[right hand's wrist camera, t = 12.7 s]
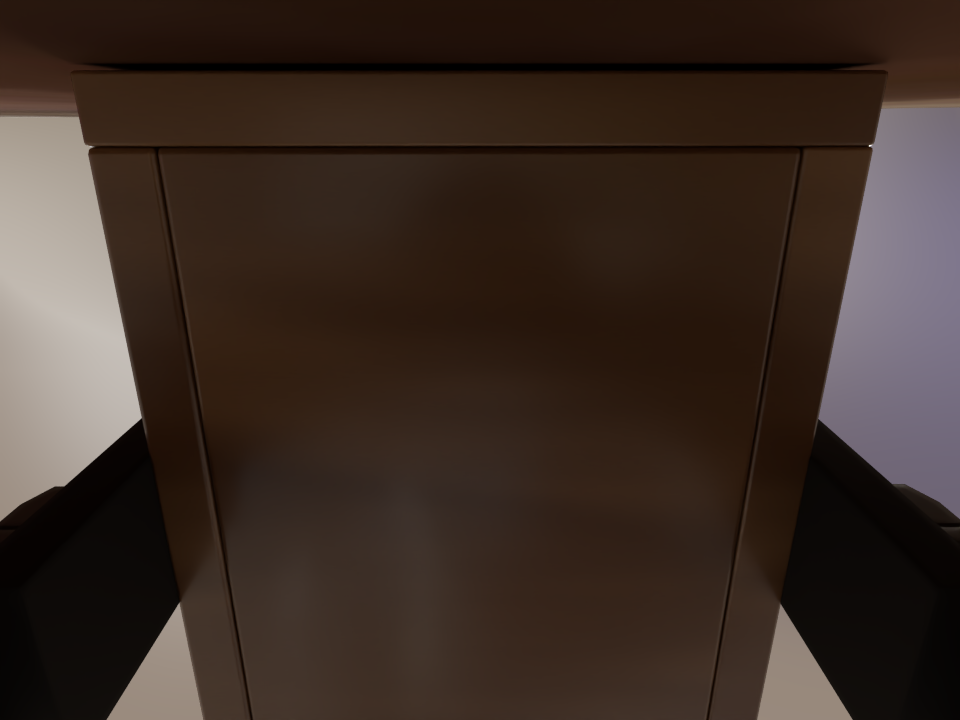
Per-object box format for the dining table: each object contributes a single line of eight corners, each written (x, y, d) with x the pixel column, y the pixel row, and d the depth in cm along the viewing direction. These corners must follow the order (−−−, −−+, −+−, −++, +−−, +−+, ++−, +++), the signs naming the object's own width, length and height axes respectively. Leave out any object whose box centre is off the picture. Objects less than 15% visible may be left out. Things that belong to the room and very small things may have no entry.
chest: (625, 101, 22) (603, 401, 26) (333, 101, 22) (356, 401, 26) (890, 70, 8) (753, 743, 12) (67, 69, 8) (206, 743, 12)
